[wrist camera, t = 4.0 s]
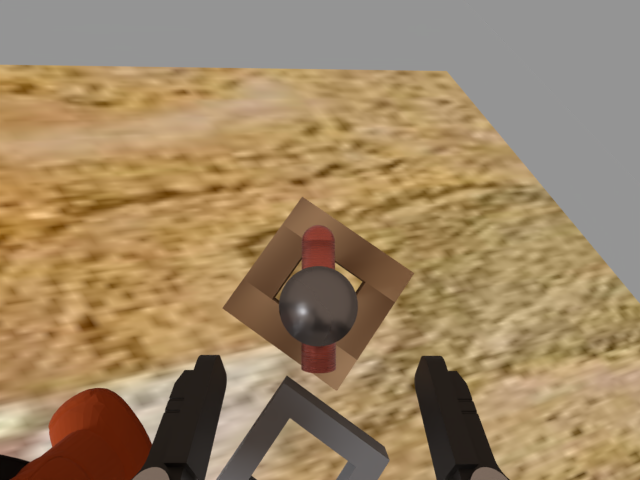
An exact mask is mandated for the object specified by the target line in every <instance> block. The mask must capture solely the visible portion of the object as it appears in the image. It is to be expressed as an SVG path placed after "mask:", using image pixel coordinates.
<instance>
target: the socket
mask: <svg viewBox="0 0 640 480" xmlns="http://www.w3.org/2000/svg"><path fill="white" fill-rule="evenodd" d="M289 419H292V420H293V421H294V422H296V423H297V424H299V425H300V426H301V427H303V428H304V429H305V430H307V431H308V432H309V433H311V434H312V435H313V436H315V437H316V438H317V439H319V440H320V441H322V442H323V443H324V444H326V445H327V446H328V447H330V448H331V449H332V450H334V451H335V452H336V453H338V454H339V455H341V456H342V457H343V458H345V459H346V460H347V461H348V462H347V463H346V465H345V466H344V468H343V470H342V471H341V473H340V474H339V476H338V477H337V479H336V480H378V479H379V477H380V475H381V474H382V472H383V471H384V469H385V467H386V466H387V464H388V463H389V461H390V459H389V457H388V454H387V452H386V449H385V446H383V445H382V444H380V443H379V442H378V441H376V440H375V439H374V438H372V437H371V436H369V435H368V434H367V433H365V432H364V431H363V430H361V429H360V428H358V427H357V426H356V425H354V424H353V423H352V422H350V421H349V420H347V419H346V418H345V417H343V416H342V415H341V414H339V413H338V412H336V411H335V410H334V409H332V408H331V407H330V406H328V405H327V404H325V403H324V402H323V401H321V400H320V399H319V398H317V397H316V396H314V395H313V394H312V393H310V392H309V391H308V390H306V389H305V388H303V387H302V386H301V385H299V384H298V383H297V382H295V381H294V380H293V379H291V378H290V377H288V376H286V377H285V379H284V380H283V382H282V383H281V385H280V386H279V387H278V389H277V390H276V392H275V393H274V395H273V396H272V398H271V399H270V401H269V402H268V404H267V405H266V407H265V408H264V410H263V411H262V413H261V414H260V415H259V417H258V418H257V420H256V421H255V423H254V424H253V426H252V427H251V429H250V430H249V432H248V433H247V435H246V436H245V438H244V439H243V441H242V442H241V443H240V445H239V446H238V448H237V449H236V451H235V452H234V454H233V455H232V457H231V458H230V460H229V461H228V463H227V464H226V466H225V467H224V469H223V470H222V471H221V473H220V474H219V476H218V477H217V479H216V480H257V479H255V478H254V477H253V476H251V475H252V474H253V472H254V471H255V469H256V468H257V466H258V465H259V463H260V462H261V460H262V459H263V457H264V456H265V454H266V453H267V451H268V450H269V448H270V447H271V445H272V444H273V442H274V441H275V439H276V438H277V436H278V435H279V433H280V432H281V430H282V429H283V427H284V426H285V425H286V423H287V422H288V420H289Z"/></svg>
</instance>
